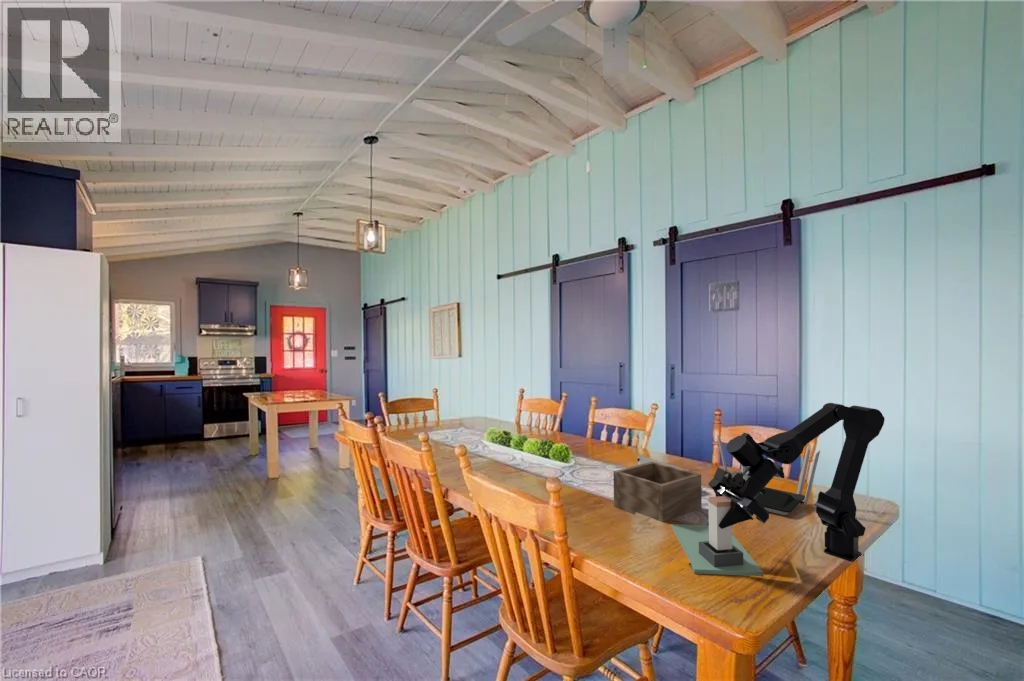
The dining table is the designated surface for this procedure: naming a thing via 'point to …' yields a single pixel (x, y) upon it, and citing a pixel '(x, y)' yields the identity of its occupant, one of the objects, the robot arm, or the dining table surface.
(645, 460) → the decorative block
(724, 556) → the dark grey tray
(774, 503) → the wireless router
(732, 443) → the robot arm
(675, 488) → the open wooden crate
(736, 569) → the board
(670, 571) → the dining table surface
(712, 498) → the plug
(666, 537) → the dining table surface
